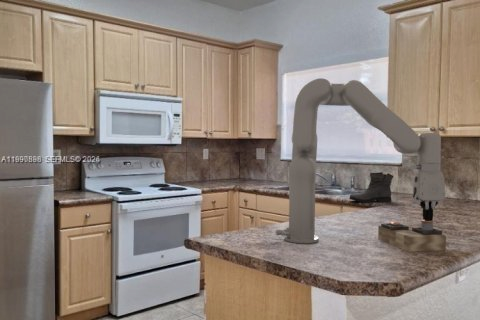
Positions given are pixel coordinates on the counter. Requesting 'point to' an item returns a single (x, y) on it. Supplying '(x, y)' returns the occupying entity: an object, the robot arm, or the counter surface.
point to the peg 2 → (426, 225)
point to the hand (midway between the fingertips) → (427, 220)
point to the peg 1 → (394, 224)
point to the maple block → (412, 237)
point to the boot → (376, 189)
